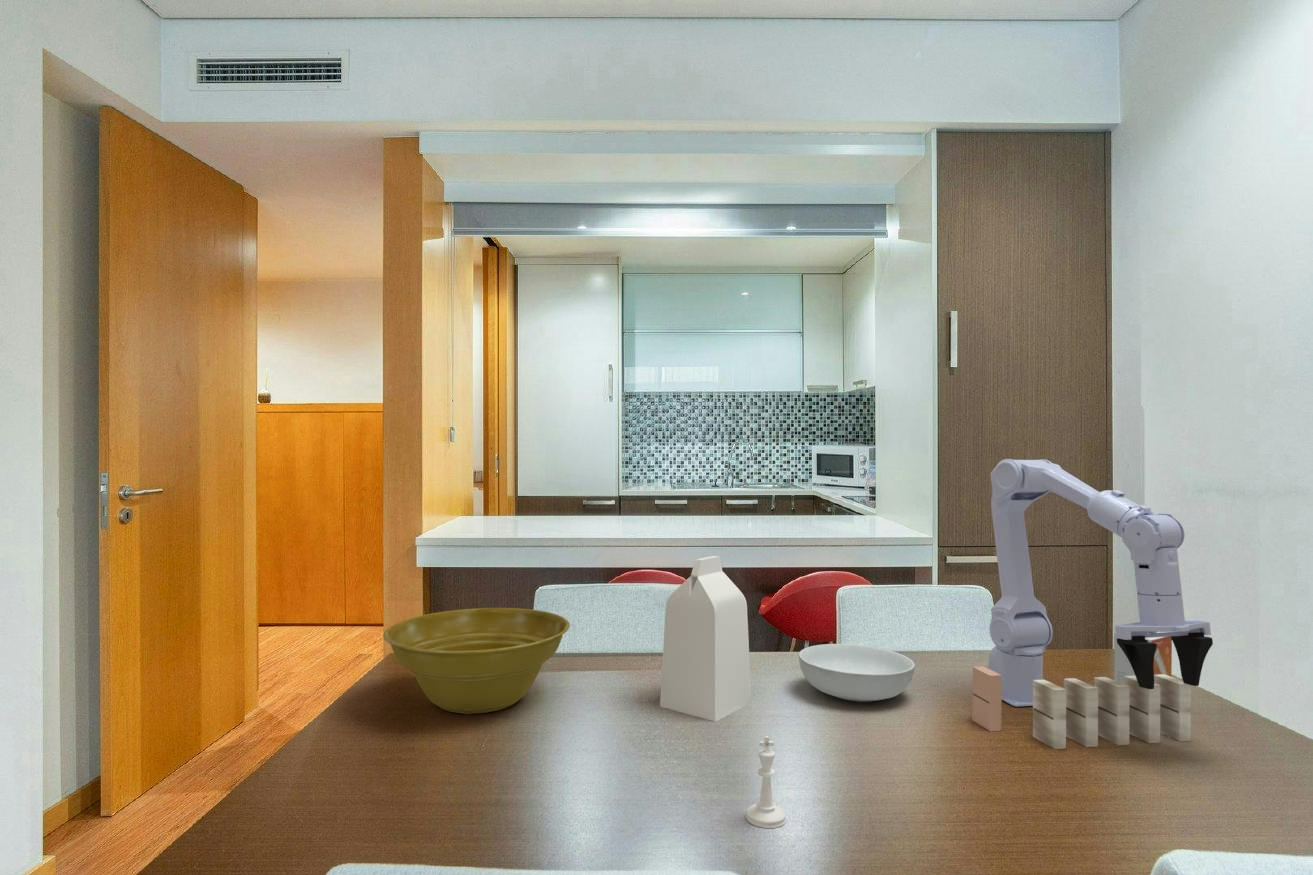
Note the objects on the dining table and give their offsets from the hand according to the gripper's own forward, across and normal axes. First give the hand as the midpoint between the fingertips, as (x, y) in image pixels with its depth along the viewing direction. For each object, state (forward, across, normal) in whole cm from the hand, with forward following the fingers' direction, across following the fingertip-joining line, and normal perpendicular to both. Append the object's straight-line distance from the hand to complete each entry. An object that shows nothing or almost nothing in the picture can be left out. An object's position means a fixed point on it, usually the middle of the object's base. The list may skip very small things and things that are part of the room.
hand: (1168, 686), depth 112 cm
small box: (+9, +14, +22) cm, 27 cm away
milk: (+6, -64, +32) cm, 72 cm away
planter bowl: (+4, -104, +39) cm, 111 cm away
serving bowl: (+6, -35, +34) cm, 49 cm away
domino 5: (+10, +8, +9) cm, 15 cm away
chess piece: (+10, -66, -9) cm, 67 cm away
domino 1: (+9, -14, +9) cm, 19 cm away
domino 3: (+10, -3, +9) cm, 13 cm away
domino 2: (+10, -9, +9) cm, 16 cm away
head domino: (+8, -20, +17) cm, 27 cm away
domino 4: (+10, +2, +9) cm, 13 cm away
